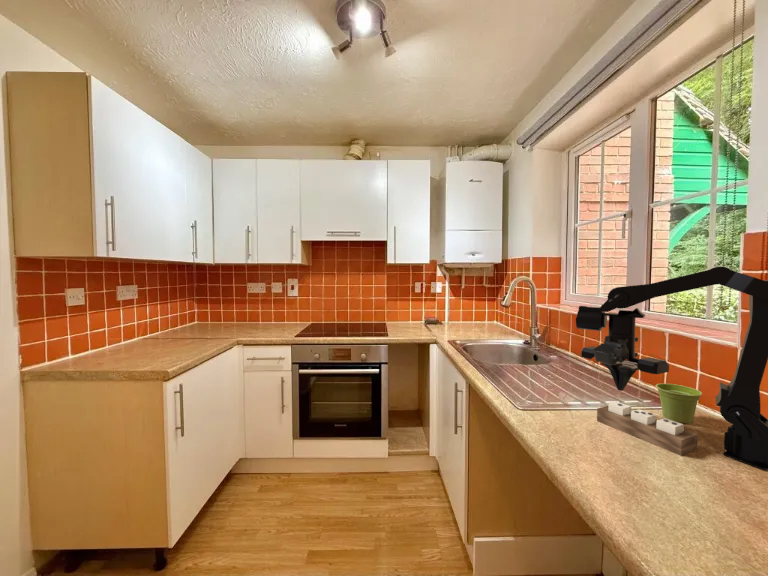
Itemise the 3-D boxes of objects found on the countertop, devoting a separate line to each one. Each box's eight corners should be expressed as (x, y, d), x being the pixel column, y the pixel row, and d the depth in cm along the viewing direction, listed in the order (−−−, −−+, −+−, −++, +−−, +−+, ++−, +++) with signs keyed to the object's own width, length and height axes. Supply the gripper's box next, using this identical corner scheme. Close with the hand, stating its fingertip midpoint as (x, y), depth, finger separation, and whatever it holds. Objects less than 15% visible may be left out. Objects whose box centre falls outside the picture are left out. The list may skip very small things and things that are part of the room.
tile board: (697, 448, 72) (697, 434, 72) (681, 455, 69) (681, 440, 69) (612, 416, 89) (613, 404, 89) (596, 420, 86) (597, 408, 86)
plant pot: (690, 430, 81) (691, 397, 81) (648, 415, 90) (648, 385, 89) (708, 423, 85) (709, 392, 85) (665, 409, 93) (666, 381, 93)
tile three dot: (655, 424, 78) (655, 414, 78) (647, 426, 77) (647, 416, 77) (639, 418, 81) (639, 408, 81) (630, 420, 80) (631, 410, 80)
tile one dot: (630, 415, 83) (631, 405, 83) (622, 417, 82) (622, 408, 82) (616, 410, 86) (616, 400, 86) (608, 412, 85) (608, 402, 85)
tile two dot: (683, 434, 73) (683, 423, 73) (674, 437, 72) (675, 426, 71) (664, 427, 76) (664, 417, 76) (656, 430, 75) (656, 419, 75)
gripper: (568, 329, 89) (567, 383, 89) (644, 342, 72) (642, 408, 72) (593, 327, 93) (593, 378, 94) (671, 338, 76) (669, 401, 76)
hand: (620, 390), depth 84 cm, fingers closed
